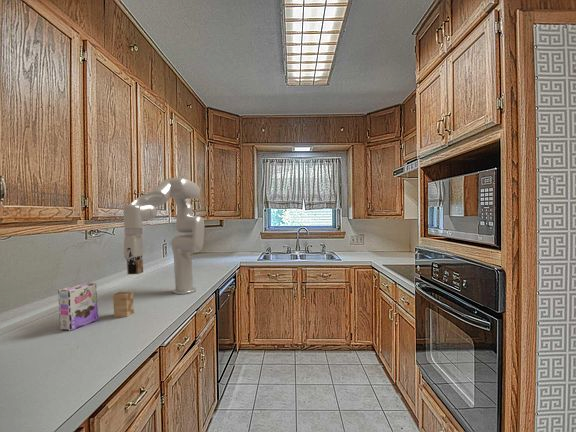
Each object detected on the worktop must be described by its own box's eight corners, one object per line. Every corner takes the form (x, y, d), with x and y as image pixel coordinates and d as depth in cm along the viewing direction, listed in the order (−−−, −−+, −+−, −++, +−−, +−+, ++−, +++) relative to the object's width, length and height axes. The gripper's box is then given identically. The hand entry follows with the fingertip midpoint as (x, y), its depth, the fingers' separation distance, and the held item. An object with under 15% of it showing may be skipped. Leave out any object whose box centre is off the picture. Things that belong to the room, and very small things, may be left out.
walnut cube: (132, 272, 170) (132, 259, 170) (143, 272, 170) (142, 259, 170) (127, 274, 165) (126, 261, 165) (138, 274, 165) (137, 260, 165)
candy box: (70, 331, 146) (68, 290, 146) (59, 330, 148) (57, 289, 147) (98, 320, 159) (96, 282, 159) (88, 319, 161) (86, 282, 161)
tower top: (120, 302, 169) (120, 291, 169) (133, 302, 168) (132, 291, 168) (113, 305, 163) (112, 294, 163) (126, 305, 162) (126, 294, 162)
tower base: (121, 313, 169) (120, 302, 169) (133, 312, 169) (133, 302, 168) (114, 317, 163) (113, 305, 163) (127, 316, 163) (126, 305, 163)
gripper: (134, 231, 176) (135, 269, 176) (115, 233, 159) (117, 276, 159) (149, 230, 176) (151, 268, 176) (132, 233, 159) (134, 275, 159)
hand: (135, 271), depth 168 cm, fingers closed on walnut cube, 5 cm apart
